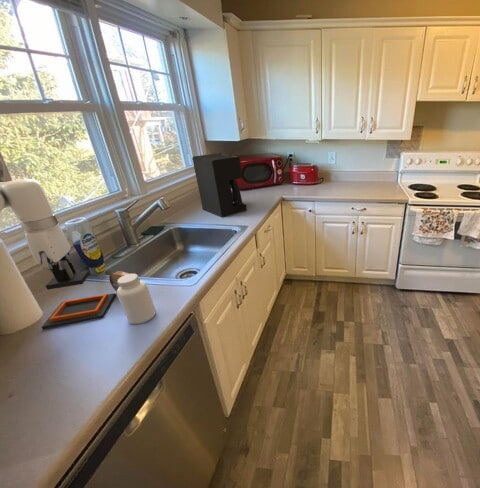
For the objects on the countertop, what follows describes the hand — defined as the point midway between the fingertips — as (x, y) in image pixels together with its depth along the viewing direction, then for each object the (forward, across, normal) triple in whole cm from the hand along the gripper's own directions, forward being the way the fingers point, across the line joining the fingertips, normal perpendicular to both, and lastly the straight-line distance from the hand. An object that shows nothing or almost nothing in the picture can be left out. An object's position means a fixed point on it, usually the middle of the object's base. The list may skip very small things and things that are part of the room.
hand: (66, 276), depth 88 cm
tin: (+14, -6, +12) cm, 19 cm away
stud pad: (+2, 0, 0) cm, 2 cm away
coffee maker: (+15, -93, +47) cm, 105 cm away
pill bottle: (+14, +10, +20) cm, 26 cm away
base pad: (+14, 0, 0) cm, 14 cm away
